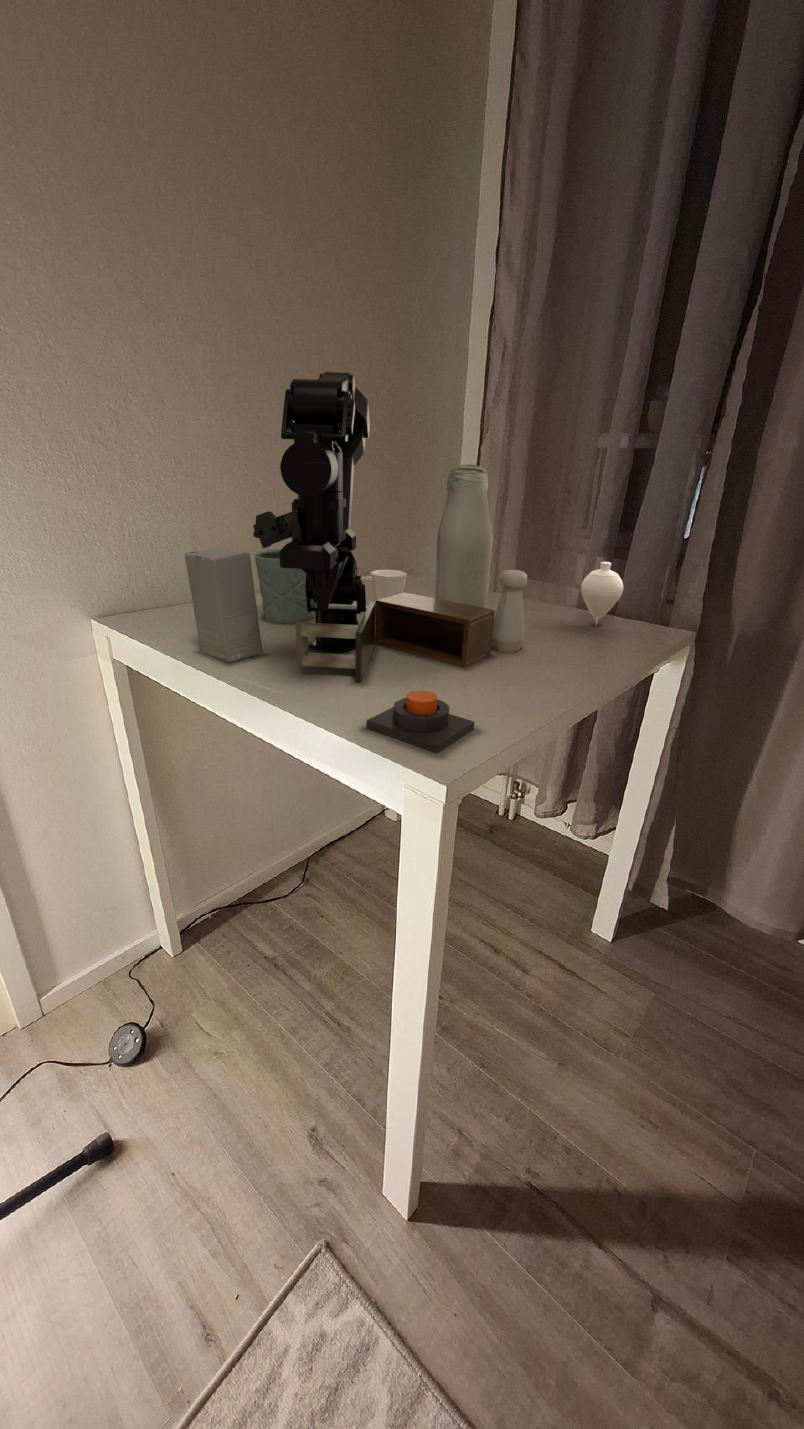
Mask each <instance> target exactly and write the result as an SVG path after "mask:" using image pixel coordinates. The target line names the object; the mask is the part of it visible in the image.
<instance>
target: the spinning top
mask: <svg viewBox="0 0 804 1429" xmlns="http://www.w3.org/2000/svg"><path fill="white" fill-rule="evenodd" d="M611 567H612V562H610V561H601V562H600V568H599V569H594V570H592V571H590V572H589V573H588V574H587V575H586V576H585V577H584V579H583V580H582V582H581V585H580V586H581V587H580V592H581V596H582V599H583V602H584V604H585V606H586V608H587V610H588V611H589V613H590V615H591V616H592V618H593V620H594V621H595V622H594V625H595V626H598V621H600V620H601V619H602V618H603V617H605V615H607V613H609V611H611V610H612V608H613V607H615V605H616V604H617V602H618V601H619V600H620V598H621V597H622V595H623V593H624V583H623V579H622V578H621V576H620V575H619V573H617V572H615V571H614V570H612V569H611Z"/></svg>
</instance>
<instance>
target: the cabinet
mask: <svg viewBox="0 0 804 1429" xmlns="http://www.w3.org/2000/svg"><path fill="white" fill-rule="evenodd" d="M495 615H496V610H495V609H491V608H487V607H484V608H482V607H477V606H471V605H466V604H461V603H456V602H451V601H446V600H441V599H436V597H430V596H426V595H419V594H415V593H410V592H403V593H401V594H397V595H394V596H390V597H386V598H383V599H379V600H376V613H375V646H379V647H383V648H387V649H390V650H395V651H399V652H402V653H406V654H410V655H414V656H418V657H422V658H425V659H429V660H434V661H437V662H441V663H445V664H448V665H453V666H456V667H461V668H464V669H467V668H468V667H470V666H473V665H475V664H477V663H479V662H481V661H483V660H485V659H486V658H489V657H491V655H492V647H493V645H492V637H493V626H494V619H495Z"/></svg>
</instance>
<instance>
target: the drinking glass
mask: <svg viewBox="0 0 804 1429" xmlns="http://www.w3.org/2000/svg"><path fill="white" fill-rule="evenodd" d="M281 549H282V548H279V549H278V548H276V549H268V550H262V551H258V552H255V553H254V562H255V566H256V572H257V578H258V583H259V591H260V596H261V598H262V599H261V600H262V602H261V603H262V610H263V611H262V612H263V617H264V619H265V620H266V621H268V622H271V623H278V624H296V623H298V622H305V621H307V620H309V619H310V617H311V612H308V608H307V599H306V589H305V581H306V573H305V572H304V571H303V570H302V569H294V568H282V567H280V556H279V551H280V550H281Z"/></svg>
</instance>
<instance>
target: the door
mask: <svg viewBox="0 0 804 1429" xmlns="http://www.w3.org/2000/svg"><path fill="white" fill-rule="evenodd" d="M367 607H368V609H366V611H365V612H364V615H363V616H362V619H361V620H360V623H359V624H358V625H347V624H327V623H316V622H309V621H308V622H307V621H306V622H305V621H302V622H296V623H295V645H296V664H297V666H299V667H315V668H333V669H334V668H336V669H337V668H338V669H353V670H354V669H355V683H362V681H363V678H364V676H365V674H366V671H367V668H368V665H369V663H370V662H369V661H370V660H371V657H372V654H373V651H374V649H375V646H376V645H375V641H376V640H375V626H376V613H375V612H376V602H375V601H370V602H369V605H368V606H367ZM308 637H309V638H311V637H313V638H314V637H315V638H316V637H329V638H348V639H356V648H355V654H351V653H350V654H349V653H340V654H335V653H331V652H326V653H325V652H309V640H308V639H309V638H308Z"/></svg>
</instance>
